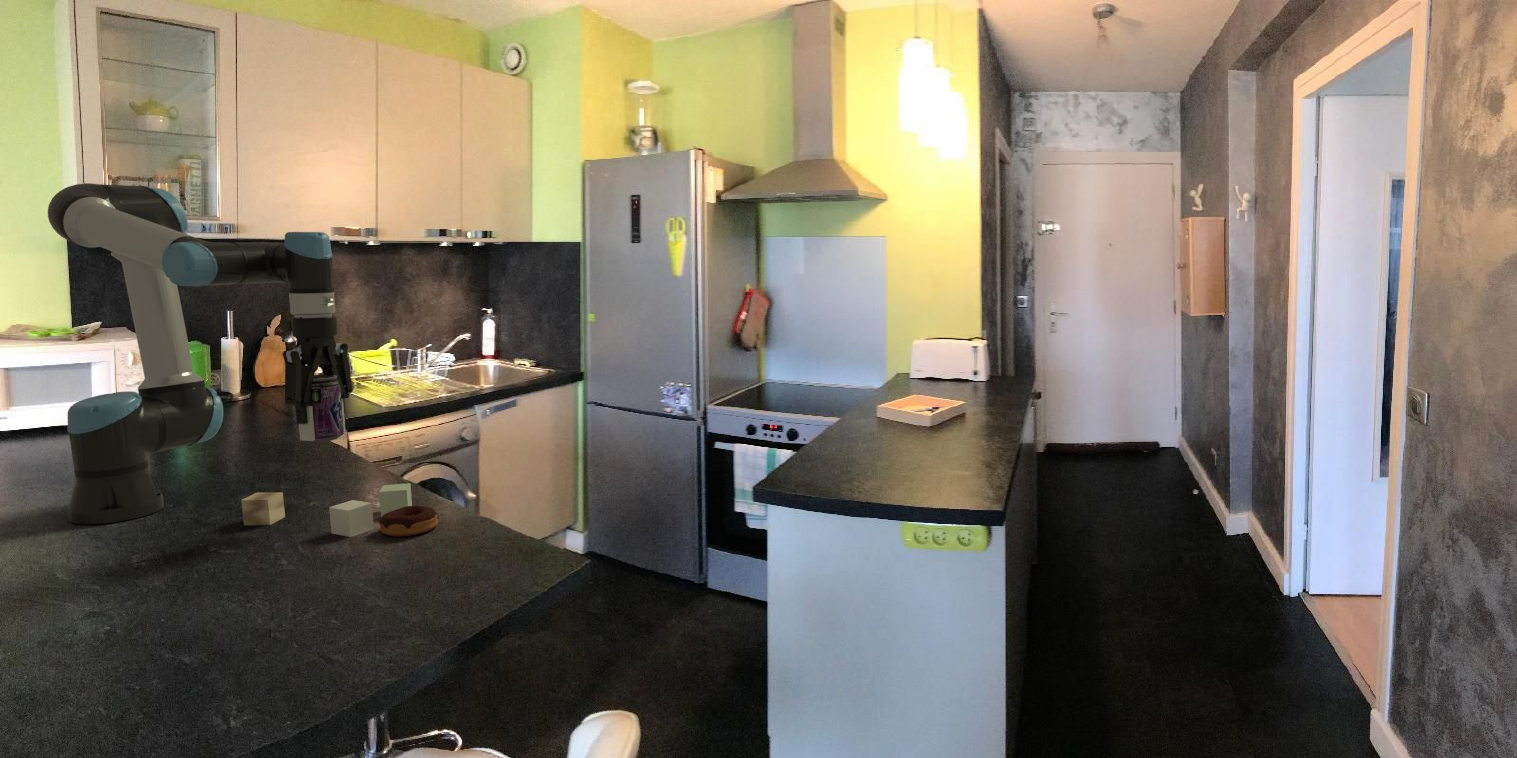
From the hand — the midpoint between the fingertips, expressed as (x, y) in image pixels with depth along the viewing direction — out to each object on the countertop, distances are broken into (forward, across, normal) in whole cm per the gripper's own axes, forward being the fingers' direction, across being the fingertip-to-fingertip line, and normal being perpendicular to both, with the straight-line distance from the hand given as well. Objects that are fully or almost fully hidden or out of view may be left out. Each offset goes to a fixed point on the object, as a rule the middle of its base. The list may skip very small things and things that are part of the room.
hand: (323, 435), depth 163 cm
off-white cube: (+16, -6, -11) cm, 20 cm away
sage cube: (+16, +6, -11) cm, 20 cm away
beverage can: (+1, 0, 0) cm, 1 cm away
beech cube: (+16, -5, +10) cm, 20 cm away
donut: (+16, -3, -20) cm, 26 cm away
